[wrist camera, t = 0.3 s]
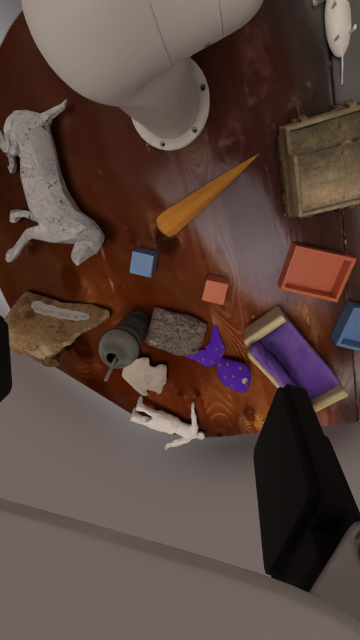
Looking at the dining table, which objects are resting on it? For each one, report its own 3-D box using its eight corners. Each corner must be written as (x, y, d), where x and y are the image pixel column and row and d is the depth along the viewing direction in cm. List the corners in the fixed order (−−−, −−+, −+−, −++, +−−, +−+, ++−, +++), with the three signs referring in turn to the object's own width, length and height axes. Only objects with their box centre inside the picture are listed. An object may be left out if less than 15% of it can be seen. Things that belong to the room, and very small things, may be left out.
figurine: (124, 423, 75) (189, 446, 78) (119, 441, 71) (188, 465, 73) (149, 376, 67) (220, 403, 70) (145, 392, 62) (221, 421, 65)
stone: (146, 337, 64) (141, 345, 61) (156, 301, 61) (151, 307, 57) (197, 356, 63) (194, 365, 60) (210, 320, 60) (208, 327, 56)
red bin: (291, 242, 52) (296, 245, 49) (349, 254, 52) (356, 258, 48) (277, 283, 55) (280, 289, 52) (330, 296, 55) (337, 302, 52)
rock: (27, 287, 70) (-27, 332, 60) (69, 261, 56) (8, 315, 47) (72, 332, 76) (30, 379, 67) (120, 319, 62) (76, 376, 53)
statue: (-56, 60, 37) (101, 88, 38) (6, 93, 49) (125, 114, 49) (-32, 267, 48) (91, 289, 48) (14, 253, 60) (113, 271, 60)
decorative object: (158, 405, 68) (115, 396, 67) (159, 394, 71) (118, 385, 70) (172, 367, 63) (126, 356, 61) (173, 357, 66) (129, 346, 64)
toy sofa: (338, 375, 61) (358, 409, 52) (301, 396, 64) (313, 431, 55) (277, 301, 57) (287, 322, 47) (240, 327, 60) (242, 352, 50)
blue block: (138, 247, 56) (132, 251, 53) (158, 251, 56) (154, 256, 53) (135, 267, 58) (129, 272, 54) (155, 272, 58) (150, 277, 54)
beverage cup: (144, 299, 60) (108, 345, 42) (161, 329, 63) (133, 385, 44) (115, 312, 63) (69, 362, 44) (132, 341, 65) (95, 399, 47)
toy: (184, 354, 64) (181, 366, 60) (215, 324, 60) (215, 335, 56) (231, 393, 66) (231, 407, 62) (264, 366, 62) (267, 379, 58)
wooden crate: (373, 202, 48) (413, 205, 38) (283, 223, 51) (297, 231, 41) (372, 93, 43) (418, 62, 32) (271, 124, 46) (284, 104, 35)
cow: (366, -55, 34) (352, -33, 38) (315, -28, 35) (307, -10, 39) (373, 71, 39) (360, 78, 43) (329, 90, 40) (320, 95, 44)
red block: (207, 273, 56) (206, 279, 53) (228, 278, 56) (228, 284, 53) (203, 293, 58) (201, 300, 55) (223, 298, 58) (223, 305, 54)
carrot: (170, 241, 54) (163, 239, 50) (156, 220, 54) (149, 216, 50) (267, 169, 49) (269, 160, 45) (252, 146, 49) (252, 134, 45)
